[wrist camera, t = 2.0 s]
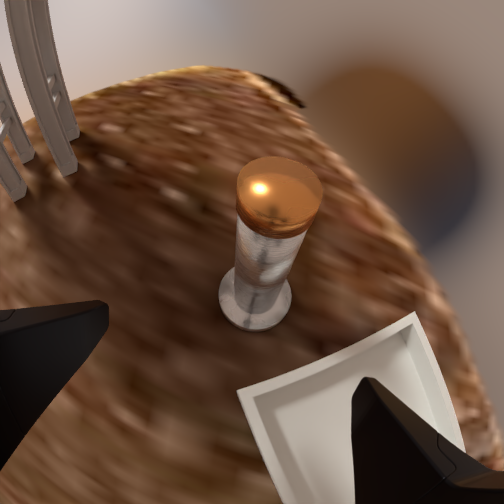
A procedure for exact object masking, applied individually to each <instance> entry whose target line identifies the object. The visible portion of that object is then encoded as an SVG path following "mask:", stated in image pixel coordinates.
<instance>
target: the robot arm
mask: <svg viewBox="0 0 504 504" xmlns="http://www.w3.org/2000/svg"><path fill="white" fill-rule="evenodd" d="M108 326H109V306H108V304H107V303H105V302H102V301H100V300H93V301H85V302H77V303H68V304H59V305H50V306H41V307H31V308H21V309H10V310H0V471H1V469H2V468H3V466H4V465H5V463H6V462H7V461H8V459H9V458H10V456H11V455H12V453H13V452H14V451H15V449H16V448H17V446H18V445H19V444H20V442H21V441H22V440H23V438H24V437H25V436H24V435H26V434H27V433H28V431H29V430H30V429H31V427H32V426H33V425H34V423H35V422H36V421H37V419H38V418H39V417H40V416H41V414H42V413H43V412H44V410H45V409H46V408H47V407H48V405H49V404H50V403H51V402H52V400H53V399H54V398H55V397H56V395H57V394H58V393H59V392H60V390H61V389H62V388H63V387H64V386H65V384H66V383H67V382H68V381H69V380H70V378H71V377H72V376H73V375H74V374H75V372H76V371H77V370H78V369H79V368H80V367H81V365H82V364H83V363H84V362H85V361H86V359H87V358H88V357H89V355H90V354H91V352H92V351H93V349H94V348H95V347H96V345H97V344H98V342H99V341H100V339H101V338H102V336H103V335H104V334H105V332H106V331H107V329H108ZM351 444H352V456H353V470H354V489H355V504H504V471H495V470H492V469H489V468H487V467H485V466H484V465H482V464H481V463H479V462H478V461H476V460H475V459H474V458H472V457H471V456H469V455H468V454H466V453H465V452H463V451H462V450H461V449H459V448H458V447H456V446H455V445H454V444H452V443H451V442H450V441H449V440H447V439H446V438H445V437H444V436H443V435H441V434H440V433H438V432H437V430H435V429H434V428H433V427H432V426H431V425H429V424H428V423H427V422H426V421H425V420H423V419H422V418H421V417H420V416H419V415H418V414H416V413H415V412H414V411H413V410H412V409H410V408H409V407H408V406H407V405H406V404H405V403H403V402H402V401H401V400H400V399H399V398H398V397H396V396H395V395H394V394H393V393H392V392H391V391H389V390H388V389H387V388H386V387H385V386H384V385H382V384H381V383H380V382H379V381H378V380H377V379H375V378H372V377H363V378H362V379H361V381H360V383H359V384H358V386H357V388H356V390H355V391H354V393H353V395H352V399H351Z"/></svg>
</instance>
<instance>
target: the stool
mask: <svg viewBox="0 0 504 504" xmlns="http://www.w3.org/2000/svg"><path fill="white" fill-rule="evenodd" d="M4 3H5V11H6V17H7V22H8V28H9V33H10V38H11V42H12V46H13V50H14V54H15V58H16V62H17V65H18V69H19V71H20V75H21V78H22V82H23V85H24V88H25V91H26V93H27V96H28V99H29V102H30V105H31V107H32V110H33V112H34V115H35V117H36V120H37V122H38V125H39V127H40V130H41V132H42V134H43V137H44V139H45V141H46V143H47V146H48V148H49V150H50V152H51V154H52V156H53V158H54V160H55V162H56V164H57V166H58V168H59V170H60V172H61V174H62V176H63V177H65V176H67V175H70V174H72V173H74V172H77V166H78V162H77V159H76V157H75V155H74V152H73V150H72V147H71V145H70V143H69V141H72V140H74V139H76V138H79V134H80V130H79V127H78V124H77V121H76V118H75V115H74V112H73V109H72V106H71V103H70V100H69V96H68V93H67V90H66V86H65V83H64V79H63V76H62V72H61V68H60V64H59V60H58V55H57V51H56V47H55V42H54V37H53V32H52V26H51V20H50V14H49V7H48V0H4ZM0 120H1V122H2V127H1V128H0V182H1V184H2V185H3V187H4V188H5V190H6V191H7V193H8V194H9V196H10V197H11V199H12V200H13V201H14V202H15V201H17V200H19V199H21V198H22V197H24V196H25V195H26V190H27V185H26V183H25V181H24V180H23V178H22V177H21V175H20V173H19V171H18V170H17V168H16V166H15V165H14V163H13V161H12V159H11V157H10V156H9V154H8V152H7V150H6V148H5V146H4V144H3V141H4V139H5V137H6V134H7V135H8V137H9V139H10V141H11V143H12V145H13V147H14V149H15V151H16V153H17V155H18V157H19V158H20V160H21V162H22V164H24V163H26V162H28V161H30V160H32V159H33V158H34V154H35V150H34V148H33V146H32V144H31V142H30V140H29V138H28V135H27V133H26V131H25V129H24V127H23V124H22V122H21V120H20V117H19V115H18V112H17V110H16V108H15V105H14V102H13V100H12V97H11V95H10V91H9V89H8V86H7V83H6V80H5V77H4V74H3V70H2V67H1V64H0Z"/></svg>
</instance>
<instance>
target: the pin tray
mask: <svg viewBox="0 0 504 504" xmlns="http://www.w3.org/2000/svg"><path fill="white" fill-rule="evenodd" d="M363 377H372V378H375V379H377V380H378V381H379V382H380V383H381V384H382V385H384V386H385V387H386V388H387V389H388V390H389V391H391V392H392V393H393V394H394V395H395V396H396V397H398V398H399V399H400V400H401V401H402V402H403V403H405V404H406V405H407V406H408V407H409V408H410V409H412V410H413V411H414V412H415V413H416V414H418V415H419V416H420V417H421V418H422V419H423V420H425V421H426V422H427V423H428V424H429V425H431V426H432V427H433V428H434V429H435V430H437V432H438V433H440V434H441V435H443V436H444V437H445V438H446V439H447V440H449V441H450V442H451V443H452V444H454V445H455V446H456V447H458V448H459V449H461V450H462V451H463V452H465V453H466V451H465V447H464V443H463V439H462V435H461V432H460V428H459V425H458V421H457V418H456V414H455V411H454V408H453V405H452V402H451V399H450V396H449V393H448V390H447V387H446V384H445V382H444V379H443V376H442V374H441V371H440V368H439V366H438V363H437V361H436V358H435V356H434V353H433V351H432V349H431V346H430V344H429V342H428V339H427V337H426V335H425V333H424V330H423V328H422V326H421V324H420V322H419V320H418V317H417V315H416V313H415V311H414V312H413V313H411V314H409V315H408V316H406V317H404V318H402V319H401V320H399V321H397V322H395V323H394V324H392V325H390V326H388V327H386V328H384V329H382V330H381V331H379V332H377V333H375V334H373V335H371V336H369V337H367V338H365V339H363V340H361V341H359V342H357V343H355V344H353V345H351V346H349V347H347V348H344V349H342V350H340V351H338V352H336V353H334V354H331V355H329V356H327V357H325V358H322V359H320V360H318V361H315V362H313V363H311V364H308V365H306V366H303V367H301V368H298V369H296V370H293V371H291V372H288V373H285V374H283V375H280V376H277V377H275V378H272V379H269V380H266V381H263V382H260V383H258V384H255V385H252V386H249V387H245V388H242V389H239V390H237V391H236V392H237V395H238V398H239V400H240V403H241V406H242V408H243V411H244V414H245V416H246V419H247V421H248V424H249V426H250V429H251V431H252V434H253V436H254V439H255V441H256V444H257V446H258V449H259V451H260V453H261V456H262V458H263V461H264V463H265V465H266V467H267V470H268V472H269V474H270V477H271V479H272V481H273V483H274V485H275V488H276V490H277V492H278V494H279V496H280V498H281V501H282V503H283V504H355V489H354V470H353V456H352V444H351V399H352V395H353V393H354V391H355V390H356V388H357V386H358V384H359V383H360V381H361V379H362V378H363Z"/></svg>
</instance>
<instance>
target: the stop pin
mask: <svg viewBox="0 0 504 504" xmlns="http://www.w3.org/2000/svg"><path fill="white" fill-rule="evenodd" d="M322 196H323V189H322V185H321V183H320V181H319V179H318V177H317V176H316V175H315V174H314V173H313V171H311V170H310V169H309V168H308V167H306V166H305V165H303V164H301V163H299V162H297V161H295V160H292V159H289V158H284V157H276V156H272V157H263V158H259V159H256V160H253V161H251V162H250V163H248V164H247V165H245V166H244V167H243V168H242V170H241V171H240V173H239V175H238V179H237V195H236V210H237V213H238V214H237V232H236V251H235V267H233V268H232V269H231V270H229V271H228V272H227V274H226V275H225V276H224V277H223V279H222V281H221V284H220V287H219V304H220V308H221V310H222V313H223V314H224V316H225V317H226V319H227V320H228V321H229V322H230V323H231V324H233V325H234V326H235V327H237V328H239V329H242V330H245V331H249V332H262V331H266V330H269V329H271V328H273V327H274V326H276V325H277V324H279V323H280V321H281V320H282V319H283V318H284V316H285V315H286V313H287V311H288V310H289V307H290V304H291V289H290V286H289V283H288V281H287V279H286V278H287V276H288V273H289V271H290V269H291V267H292V264H293V262H294V260H295V257H296V255H297V252H298V250H299V248H300V245H301V243H302V241H303V238H304V236H305V233H306V231H307V229H308V228H309V227H310V225H311V224H312V222H313V220H314V217H315V215H316V212H317V210H318V207H319V205H320V203H321V200H322Z"/></svg>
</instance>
